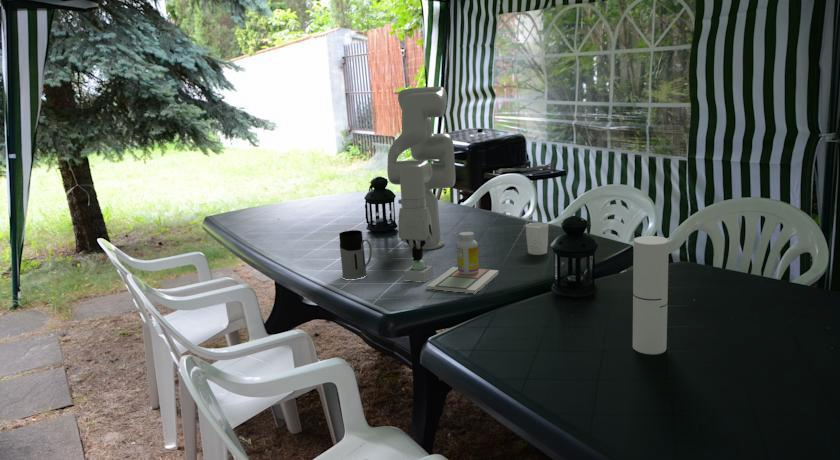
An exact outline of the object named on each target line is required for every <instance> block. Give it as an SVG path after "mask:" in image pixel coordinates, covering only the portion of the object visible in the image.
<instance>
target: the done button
mask: <svg viewBox="0 0 840 460" xmlns="http://www.w3.org/2000/svg"><path fill="white" fill-rule="evenodd" d="M411 266H412V270H415V271H423V270H424V269H425V266H426V265H425V260H424V259H421V260H419V261H413V260H412V261H411Z"/></svg>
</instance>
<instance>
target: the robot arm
mask: <svg viewBox="0 0 840 460" xmlns="http://www.w3.org/2000/svg"><path fill="white" fill-rule="evenodd" d="M447 95H448V94H447V91H446V89H445V88H444V87H443V86H428V87H427V86H426V87H413V88H412V87H410V88H405V89H402V90H400V91H399V92H398V93H397V102H398V104H399V108H400V110H401V134H400V135H398V137H397V138H396V139H395V140H394V141H393V142H392V144H391V146H390V148H389V150H388V154H387V165H386V166H387V168H386V169H387V170H386V173H387V179H388V182H389V183H391V184H392V185H395V186H396V185H397V186H400V197H401V198H400V199H398V201H397V202H398V204H399V205H401V207H400V208H399V212H398V223H397V224H398V226H397V227H398V238H400V241H401V242H403V243H406V244H407V245H408V246H409V248H410V249H411V255H412V261H419V260H423V257H424V253H423V250H424V251H427V250H435V249H439V248H443V247H444V246H445V245H446V242H445V240H443V239H441V228H440V226H441V225H440V212H439V211H440V210H439V200H438V197H437V196H436V194H434V192H433V191H431V190H435V189H436V190H437V189H439V190H440V189H450V188H453V187H454V186H455V184H456V177H457V176H456V164H455V161H456V160H455V147H454V141H453V138H452V137H451V135H450V134H448V133H443V132H442V133H433V123H432V119H431V118H441V117H443V116H444V115H445V113H446V110H447V104H448V96H447ZM409 149H410V154H411V156H412V159H414V160H400V161H399V160H398V158H399V156H401V154H402V153H403V152H405V151H407V150H409ZM436 160H439V161H441V162H436V163H433V162H432V163H431V162H429V161H436Z"/></svg>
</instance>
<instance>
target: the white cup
mask: <svg viewBox="0 0 840 460" xmlns="http://www.w3.org/2000/svg"><path fill="white" fill-rule="evenodd" d="M525 235H526V237H525V238H526V246H527V253H528V254H529V255H535V256H542V255H545V254H547V253H548V244H549V224H548V223H546V222H530V223H526V224H525Z"/></svg>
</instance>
